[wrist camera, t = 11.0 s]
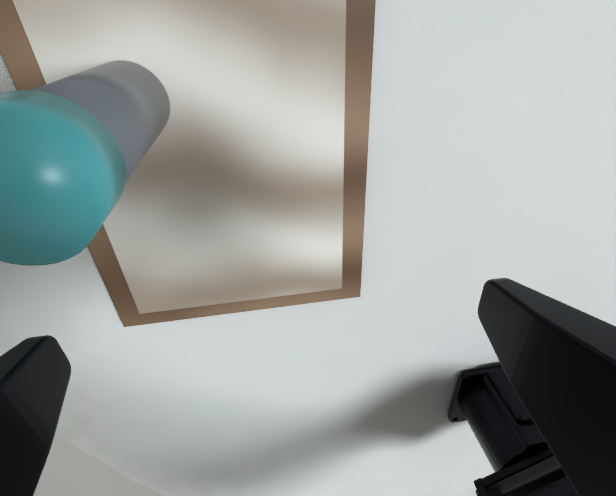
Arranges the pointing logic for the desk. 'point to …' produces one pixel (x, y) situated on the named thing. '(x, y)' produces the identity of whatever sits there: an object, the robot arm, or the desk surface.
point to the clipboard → (224, 146)
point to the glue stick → (72, 156)
